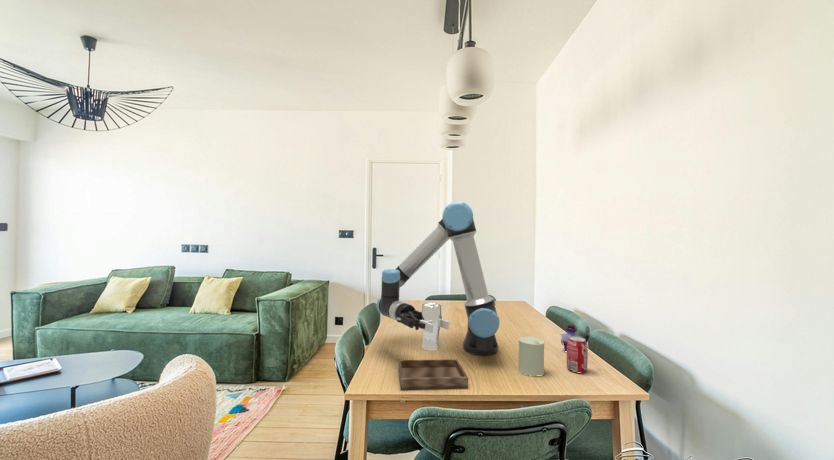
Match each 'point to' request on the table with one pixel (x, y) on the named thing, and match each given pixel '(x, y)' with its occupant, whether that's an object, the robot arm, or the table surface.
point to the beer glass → (433, 316)
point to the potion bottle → (568, 335)
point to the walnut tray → (431, 374)
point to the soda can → (577, 354)
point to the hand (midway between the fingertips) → (440, 327)
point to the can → (531, 356)
